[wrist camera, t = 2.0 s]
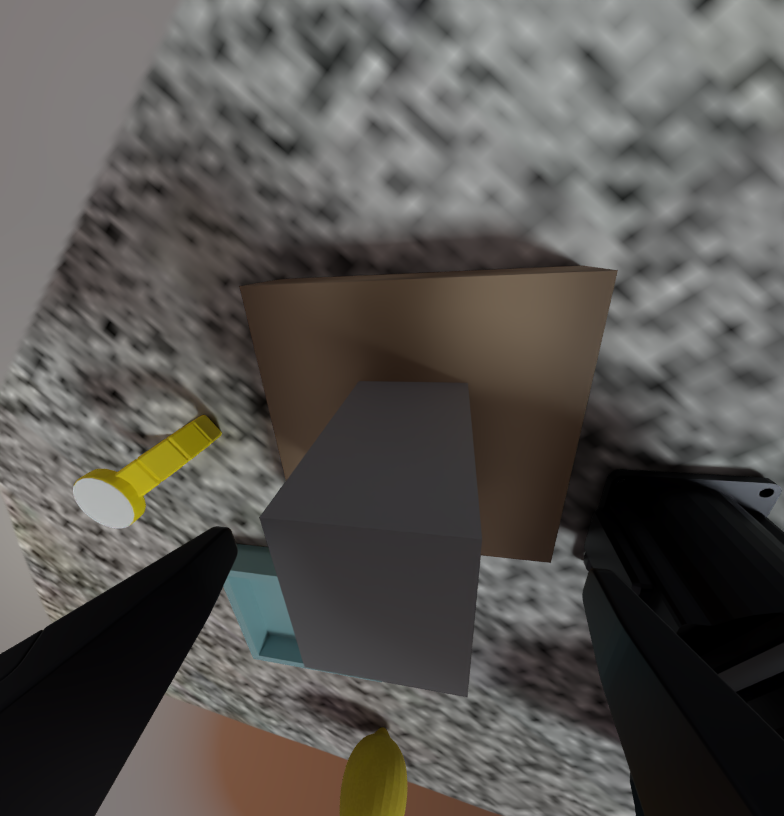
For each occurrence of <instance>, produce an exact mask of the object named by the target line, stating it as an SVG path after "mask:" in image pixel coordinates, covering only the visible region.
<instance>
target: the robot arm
mask: <svg viewBox="0 0 784 816" xmlns="http://www.w3.org/2000/svg"><path fill="white" fill-rule="evenodd" d="M623 479H625V480H624V481H623V482H621V483H617V482H618V481H620V480H623ZM763 489H764V490H763ZM761 490H762V491H761ZM781 491H782V490H781V487H780V486H778V485H777V484H776V483H774V482H773V481H772V480H770V479H768V478H761V477H743V476H726V475H708V474H690V473H673V472H655V471H638V470H616V471H613V472H612V473H610V474H609V476H608V478H607V481H606V484H605V488H604V491H603V495H602V498H601V501H600V505H599V508H597V509H596V511H595V512H594V513H593V517H592V520H591V524H590V527H589V531H588V534H587V538H586V541H585V545H584V549H585V551H586V553H585V557H584V564H585V567H586V569H587V570H588V571H589V572H588V576H587V579H586V582H585V585H584V589H583V594H582V597H583V604H584V609H585V613H586V618H587V622H588V627H589V631H590V635H591V640H592V644H593V649H594V653H595V658H596V662H597V666H598V671H599V675H600V679H601V683H602V686H603V689H604V692H605V696H606V699H607V702H608V705H609V708H610V711H611V714H612V717H613V720H614V723H615V726H616V729H617V732H618V735H619V738H620V741H621V744H622V747H623V751H624V754H625V757H626V760H627V763H628V766H629V769H630V784H631V789H632V794H633V800H634V805H635V812H636V816H784V532H783V531H782V530H781V529H780V528H778V527H777V526H776V525H775V524H774V523H773V522H771V521H770V520H769V519H768V518H767V516H768V515H769V513H770V511H771V510H772V508H773V506H774V504H775V503H776V501H777V499H778V498H779V496H780V494H781ZM237 554H238V548H237V545H236V542H235V539H234V536H233V534H232V531H231V529H229V528H228V527H219V526H216V527H212V528H211V529H209V530H207V531H206V532H204V533H202V534H201V535H199V536H197V537H196V538H194V539H192V540H191V541H189V542H187V543H186V544H184V545H182V546H181V547H179V548H177V549H176V550H174V551H172V552H170V553H169V554H167V555H165V556H164V557H162V558H160V559H159V560H157V561H155V562H154V563H152V564H150V565H149V566H147V567H145V568H144V569H142V570H140V571H139V572H137V573H135V574H134V575H132V576H130V577H129V578H127V579H125V580H124V581H122V582H120V583H119V584H117V585H115V586H114V587H112V588H110V589H109V590H107V591H105V592H104V593H102V594H100V595H99V596H97V597H95V598H94V599H92V600H90V601H89V602H87V603H85V604H84V605H82V606H80V607H79V608H77V609H75V610H74V611H72V612H70V613H69V614H67V615H65V616H64V617H62V618H60V619H59V620H57V621H55V622H54V623H52V624H50V625H49V626H47V627H46V628H45V629H44V630H40V631H38V632H37V633H35V634H33V635H32V636H30V637H28V638H27V639H25V640H24V641H22V642H20V643H18V644H17V645H15V646H13V647H12V648H10V649H8V650H6V651H5V652H3V653H1V654H0V816H95V815H96V813H97V811H98V809H99V807H100V806H101V804H102V802H103V801H104V799H105V797H106V795H107V794H108V792H109V790H110V788H111V787H112V785H113V783H114V781H115V780H116V778H117V776H118V774H119V773H120V771H121V769H122V767H123V766H124V764H125V762H126V760H127V758H128V757H129V755H130V753H131V752H132V750H133V748H134V747H135V745H136V743H137V741H138V740H139V738H140V736H141V734H142V733H143V731H144V729H145V727H146V726H147V724H148V722H149V720H150V719H151V717H152V715H153V713H154V712H155V710H156V708H157V706H158V705H159V703H160V701H161V699H162V698H163V696H164V694H165V692H166V691H167V689H168V687H169V685H170V684H171V682H172V680H173V678H174V677H175V675H176V673H177V671H178V670H179V668H180V666H181V665H182V663H183V661H184V659H185V658H186V656H187V654H188V652H189V651H190V649H191V647H192V645H193V644H194V642H195V640H196V638H197V637H198V635H199V633H200V631H201V630H202V628H203V626H204V624H205V623H206V621H207V619H208V617H209V615H210V613H211V611H212V609H213V607H214V605H215V603H216V601H217V599H218V596H219V594H220V592H221V590H222V588H223V586H224V584H225V581H226V579H227V577H228V575H229V573H230V571H231V569H232V566H233V564H234V562H235V560H236V558H237Z"/></svg>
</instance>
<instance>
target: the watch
mask: <svg viewBox="0 0 784 816" xmlns="http://www.w3.org/2000/svg"><path fill="white" fill-rule="evenodd" d="M221 435H222V432H221V431H220V430H219V429H218V428H217V427H216V426H215V425H214V423H213V422H212V421H211V420H210V419H209V418H208V417H207V416H206V415H201V416H200V417H198V418H196V419H195V420H193V421H191V422H190V423H188V424H187V425H185V426H184V427H182V428H181V429H179V430H178V431H176V432H175V433H173V434H172V435H170V436H169V437H167V438H166V439H164V440H163V441H161V442H160V443H158V444H157V445H155V446H154V447H153V448H151V449H150V450H148V451H147V452H145V453H144V454H142V455H141V456H139V457H138V459H135V460H134V461H132V462H131V463H130V464H128V465H127V466H125V467H124V468H123V469H121V470H120V471H118V472H116V471H113V470H109V469H95V470H93V471H91V472H89V473H87V474H86V475H84V476H82V477H81V478H79V479H78V480H77V481H76V482H75V484H74V486H73V495H74V498H75V501H76V502H77V504H78V505H79V507H80V508H81V509H82V510H83V511H84V512H85V513H86V514H87V515H88V516H89V517H90V518H92V519H93V520H95V521H96V522H98V523H100V524H102V525H104V526H107V527H111V528H125V527H128V526H130V525H131V524H132V523H134V522H135V521H136V520H137V519H138V518H139V517H141V515H142V514H143V513H144V512H145V507H146V504H145V499H144V495H145V494H146V493H148V492H149V491H150V490H152V489H153V488H154V487H156V486H157V485H158V484H160V483H161V481H164V480H165V479H166V478H168V477H169V476H170V475H172V474H173V473H174V472H176V471H177V470H178V469H179V468H181V467H182V466H183V465H185V464H186V463H187V462H188V461H190V460H191V459H193V458H194V457H195V456H196V455H198V454H199V453H200V452H201V451H203V450H204V449H205V448H206V447H208V446H209V445H210V444H211V443H213V442H214V441H215V440H216V439H217V438H219V437H220V436H221Z"/></svg>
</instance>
